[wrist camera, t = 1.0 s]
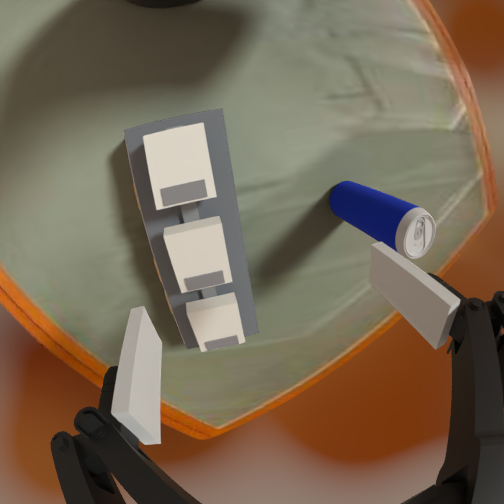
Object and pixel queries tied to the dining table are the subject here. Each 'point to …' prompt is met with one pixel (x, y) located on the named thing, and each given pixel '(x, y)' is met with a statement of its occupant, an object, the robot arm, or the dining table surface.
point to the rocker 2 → (198, 254)
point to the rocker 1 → (179, 166)
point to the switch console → (191, 212)
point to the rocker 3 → (216, 321)
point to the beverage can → (384, 218)
